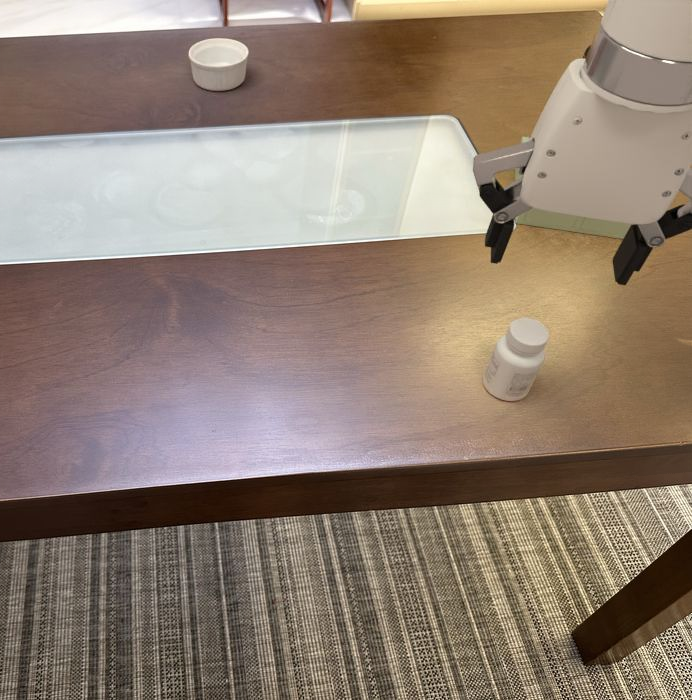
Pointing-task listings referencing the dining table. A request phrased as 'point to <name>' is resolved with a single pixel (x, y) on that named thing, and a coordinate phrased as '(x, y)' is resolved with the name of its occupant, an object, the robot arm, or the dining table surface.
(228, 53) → the ramekin
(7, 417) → the dining table surface
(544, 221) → the grid
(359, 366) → the dining table surface
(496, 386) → the pill bottle
